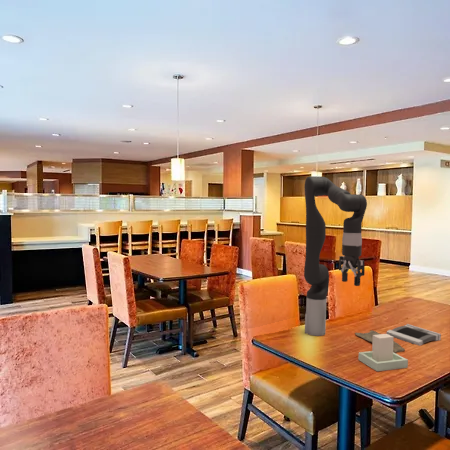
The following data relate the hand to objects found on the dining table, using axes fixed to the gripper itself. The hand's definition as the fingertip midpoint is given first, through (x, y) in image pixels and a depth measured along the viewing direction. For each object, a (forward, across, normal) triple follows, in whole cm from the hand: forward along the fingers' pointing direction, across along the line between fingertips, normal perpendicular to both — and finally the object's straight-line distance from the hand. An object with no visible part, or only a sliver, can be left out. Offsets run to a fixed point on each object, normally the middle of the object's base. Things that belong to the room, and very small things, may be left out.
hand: (350, 283), depth 161 cm
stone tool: (+31, -11, +24) cm, 40 cm away
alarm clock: (+31, -13, +44) cm, 55 cm away
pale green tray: (+30, +10, +9) cm, 33 cm away
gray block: (+29, +10, +8) cm, 32 cm away
